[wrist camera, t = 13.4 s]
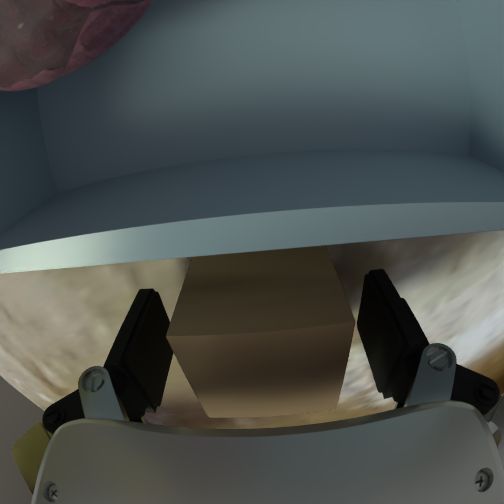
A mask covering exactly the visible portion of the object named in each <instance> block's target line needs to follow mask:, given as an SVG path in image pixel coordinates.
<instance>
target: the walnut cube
mask: <svg viewBox="0 0 504 504" xmlns="http://www.w3.org/2000/svg"><path fill="white" fill-rule="evenodd" d="M354 326H355V319H354V317H353V314H352V311H351V308H350V306H349V303H348V301H347V298H346V295H345V293H344V290H343V288H342V285H341V283H340V280H339V277H338V275H337V273H336V270H335V268H334V265H333V263H332V260H331V258H330V255H329V253H328V251H327V248H326V246H325V245H322V246H310V247H298V248H287V249H275V250H264V251H252V252H241V253H229V254H218V255H206V256H195V257H193V258H192V260H191V263H190V266H189V269H188V272H187V274H186V277H185V280H184V283H183V286H182V289H181V292H180V295H179V298H178V301H177V304H176V307H175V310H174V313H173V316H172V319H171V322H170V325H169V328H168V331H167V334H166V337H167V340H168V342H169V344H170V346H171V348H172V350H173V352H174V354H175V356H176V358H177V360H178V362H179V364H180V366H181V368H182V370H183V372H184V374H185V376H186V378H187V380H188V382H189V384H190V385H191V387H192V389H193V391H194V393H195V395H196V396H197V398H198V400H199V402H200V404H201V405H202V407H203V409H204V410H205V412H206V414H207V416H208V417H209V418H245V417H268V416H282V415H293V414H303V413H311V412H319V411H326V410H333V409H336V407H337V403H338V400H339V396H340V392H341V388H342V384H343V380H344V375H345V371H346V366H347V362H348V357H349V352H350V347H351V342H352V337H353V332H354Z"/></svg>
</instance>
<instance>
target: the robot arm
mask: <svg viewBox="0 0 504 504" xmlns="http://www.w3.org/2000/svg"><path fill="white" fill-rule="evenodd" d="M169 325H170V321H169V318H168V316H167V313H166V311H165V308H164V306H163V303H162V300H161V298H160V295H159V293H158V292H155V290H154V289H140V290H139V291H138V293H137V295H136V297H135V299H134V301H133V303H132V305H131V307H130V310H129V312H128V314H127V316H126V318H125V320H124V322H123V324H122V326H121V328H120V330H119V332H118V335H117V337H116V339H115V341H114V343H113V346H112V348H111V350H110V352H109V355H108V357H107V359H106V362H105V364H104V366H103V367H101V366H94V367H90V368H89V369H87V370H85V371H84V372H83V373H82V375H81V376H80V378H79V381H78V388H79V389H77V390H76V391H74V392H72V393H71V394H69V395H67V396H66V397H64V398H62V399H61V400H59V401H57V402H55V403H54V404H52V405H50V406H49V407H48V408H47V409H46V410H45V412H44V414H43V419H42V420H43V422H42V423H41V422H38V423H37V424H35V425H34V426H33V427H32V428H31V429H30V430H29V431H27V432H26V433H25V434H24V435H23V436H22V437H21V438H19V439H18V440H17V441H16V442H15V444H14V446H13V448H12V454H13V458H14V459H15V462H16V464H17V466H18V468H19V470H20V472H21V474H22V476H23V478H24V480H25V481H26V483H27V485H28V487H29V489H30V491H31V492H32V494H33V499H32V504H504V394H503V395H502V396H501V395H500V392H499V388H498V386H497V384H496V383H495V382H494V381H493V380H492V379H490V378H488V377H486V376H483V375H481V374H479V373H477V372H474V371H472V370H470V369H467V368H465V367H463V366H461V365H458V364H456V356H455V353H454V352H453V351H452V349H451V348H449V347H448V346H446V345H444V344H440V343H433V344H429V342H428V340H427V338H426V336H425V334H424V332H423V331H422V329H421V327H420V325H419V323H418V321H417V319H416V318H415V316H414V314H413V312H412V311H411V309H410V307H409V305H408V304H407V302H406V300H405V299H404V298H401V297H400V296H399V294H398V292H397V290H396V289H395V287H394V285H393V284H392V282H391V280H390V279H389V277H388V275H387V274H386V272H385V271H384V269H378V270H370V271H369V274H366V275H365V278H364V285H363V291H362V297H361V303H360V309H359V314H358V320H357V328H358V332H359V334H360V337H361V340H362V343H363V346H364V349H365V352H366V355H367V358H368V361H369V364H370V367H371V370H372V373H373V377H374V380H375V383H376V386H377V390H378V392H379V393H381V392H382V393H383V397H384V399H386V398H390V397H393V399H394V401H395V402H396V405H395V407H394V410H390V411H385V412H381V413H376V414H371V415H366V416H361V417H356V418H351V419H345V420H339V421H333V422H326V423H319V424H311V425H302V426H292V427H279V428H262V429H204V428H186V427H174V426H164V425H155V424H146V422H145V420H144V417H143V416H144V415H145V412H153V413H156V408H157V406H160V405H161V401H162V397H163V393H164V388H165V384H166V380H167V376H168V372H169V368H170V364H171V360H172V356H173V350H172V348H171V346H170V344H169V342H168V340H167V337H166V334H167V331H168V328H169Z"/></svg>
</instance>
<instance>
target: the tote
mask: <svg viewBox="0 0 504 504" xmlns="http://www.w3.org/2000/svg"><path fill="white" fill-rule="evenodd" d="M496 230H504V0H154V1H153V3H152V4H151V5H150V7H149V8H148V10H147V11H146V12H145V13H144V15H143V16H142V17H141V18H140V20H139V21H138V22H137V23H136V24H135V25H134V26H133V27H132V29H131V30H130V31H129V32H128V33H127V34H126V35H124V36H123V37H122V38H121V39H120V40H119V41H118V42H117V43H115V44H114V45H113V46H112V47H111V48H110V49H109V50H107V51H106V52H105V53H103V54H102V55H100V56H99V57H98V58H96V59H95V60H93V61H92V62H90V63H89V64H87V65H85V66H84V67H82V68H80V69H78V70H76V71H74V72H71V73H69V74H67V75H64V76H62V77H60V78H58V79H56V80H54V81H53V82H51V83H48V84H45V85H42V86H40V87H35V88H31V89H26V90H20V91H2V90H0V274H1V273H12V272H23V271H35V270H46V269H58V268H69V267H80V266H92V265H103V264H115V263H126V262H137V261H149V260H160V259H172V258H183V257H195V256H206V255H218V254H229V253H241V252H252V251H264V250H275V249H287V248H298V247H310V246H322V245H333V244H345V243H356V242H368V241H379V240H391V239H403V238H414V237H426V236H438V235H449V234H461V233H473V232H484V231H496Z"/></svg>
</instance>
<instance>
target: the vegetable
mask: <svg viewBox="0 0 504 504" xmlns="http://www.w3.org/2000/svg"><path fill="white" fill-rule="evenodd" d="M153 1H154V0H0V90H2V91H20V90H26V89H31V88H35V87H40V86H42V85H45V84H48V83H51V82H53V81H54V80H56V79H58V78H60V77H62V76H64V75H67V74H69V73H71V72H74V71H76V70H78V69H80V68H82V67H84V66H85V65H87V64H89V63H90V62H92V61H93V60H95V59H96V58H98V57H99V56H100V55H102V54H103V53H105V52H106V51H107V50H109V49H110V48H111V47H112V46H113V45H114V44H115V43H117V42H118V41H119V40H120V39H121V38H122V37H123V36H124V35H126V34H127V33H128V32H129V31H130V30H131V29H132V27H133V26H134V25H135V24H136V23H137V22H138V21H139V20H140V18H141V17H142V16H143V15H144V13H145V12H146V11H147V10H148V8H149V7H150V5H151V4H152V3H153Z"/></svg>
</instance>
